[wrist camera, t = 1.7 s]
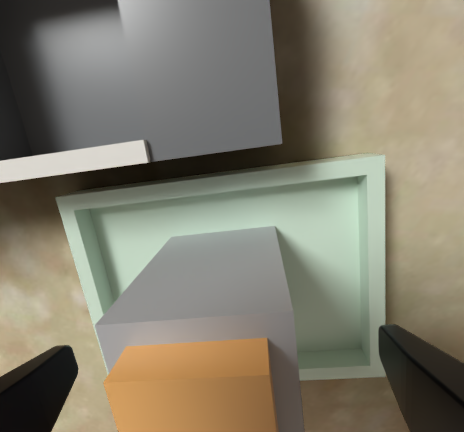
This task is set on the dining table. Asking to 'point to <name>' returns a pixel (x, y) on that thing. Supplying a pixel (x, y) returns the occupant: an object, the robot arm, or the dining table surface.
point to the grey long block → (132, 82)
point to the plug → (205, 339)
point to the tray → (254, 216)
